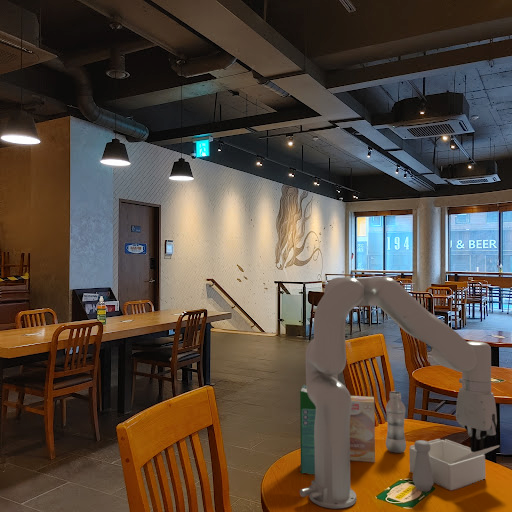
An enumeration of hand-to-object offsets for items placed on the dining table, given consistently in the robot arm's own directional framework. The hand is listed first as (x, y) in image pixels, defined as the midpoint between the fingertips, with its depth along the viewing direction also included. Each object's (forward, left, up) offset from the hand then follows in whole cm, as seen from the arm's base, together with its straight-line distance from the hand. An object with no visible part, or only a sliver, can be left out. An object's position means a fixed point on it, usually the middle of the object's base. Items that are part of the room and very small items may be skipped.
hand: (476, 451), depth 133 cm
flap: (0, 0, -1) cm, 1 cm away
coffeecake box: (-15, +36, -11) cm, 40 cm away
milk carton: (-31, +34, -11) cm, 47 cm away
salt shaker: (-13, +8, -11) cm, 18 cm away
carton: (0, +10, -10) cm, 15 cm away
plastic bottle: (+1, +32, -11) cm, 34 cm away
